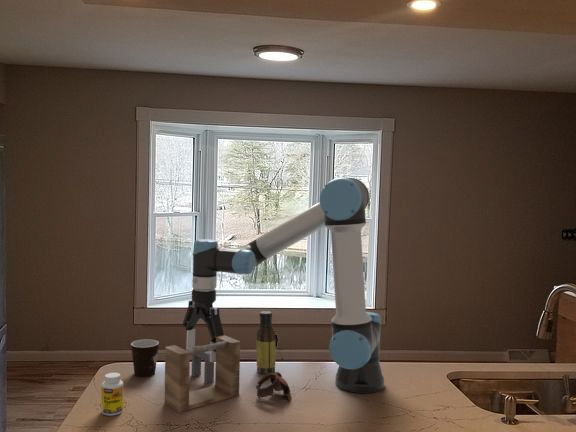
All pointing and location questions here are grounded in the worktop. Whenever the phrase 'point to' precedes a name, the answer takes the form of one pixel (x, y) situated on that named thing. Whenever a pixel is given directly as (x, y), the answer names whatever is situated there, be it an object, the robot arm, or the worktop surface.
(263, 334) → the sauce bottle
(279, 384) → the brown looped piece
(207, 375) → the u piece
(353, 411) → the worktop surface
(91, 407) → the worktop surface
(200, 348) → the rack
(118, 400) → the supplement bottle
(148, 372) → the coffee mug
